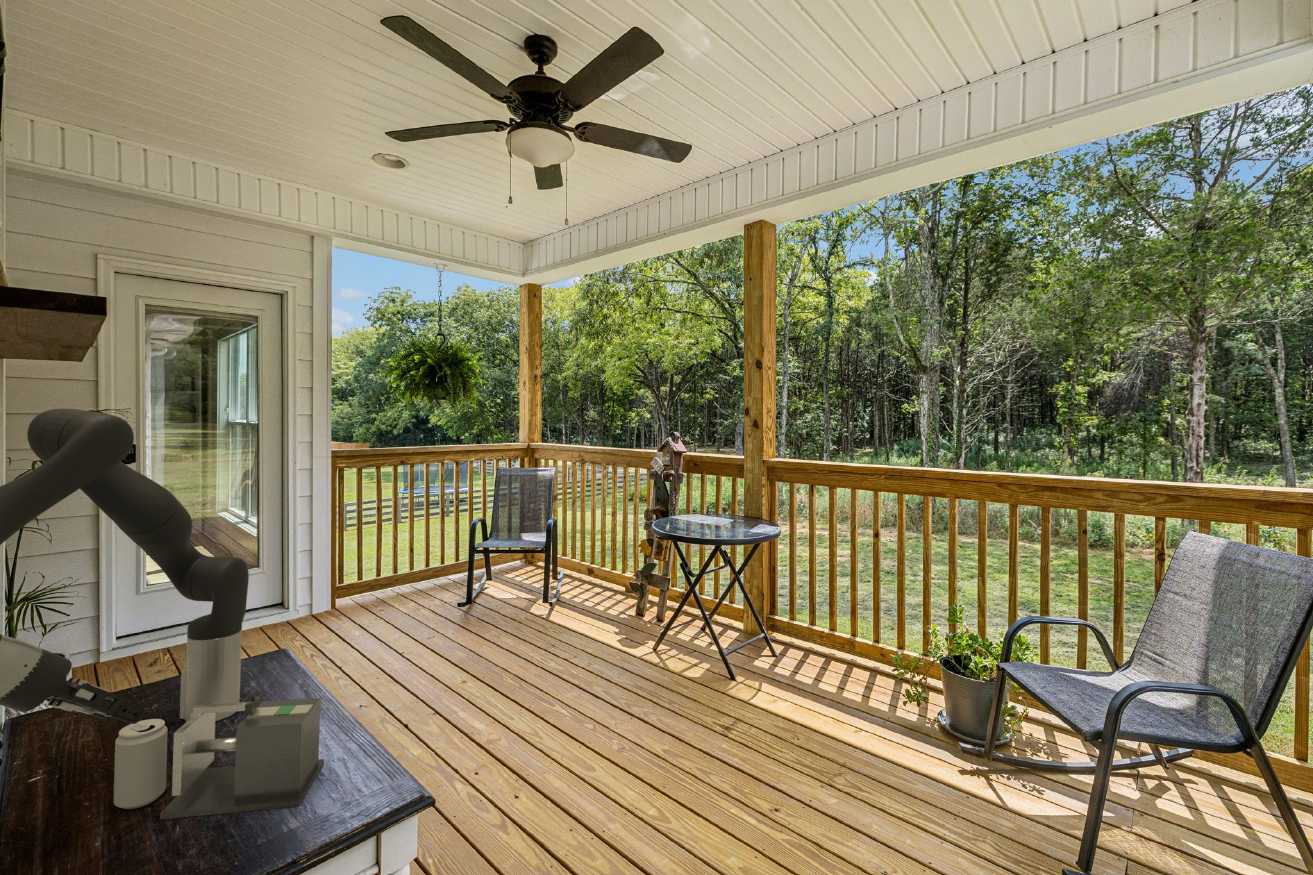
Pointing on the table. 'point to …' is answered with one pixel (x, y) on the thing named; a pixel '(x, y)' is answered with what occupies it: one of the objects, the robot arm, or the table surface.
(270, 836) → the table surface
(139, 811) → the table surface
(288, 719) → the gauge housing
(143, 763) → the beverage can
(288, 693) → the table surface
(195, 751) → the paddle
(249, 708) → the peak needle
